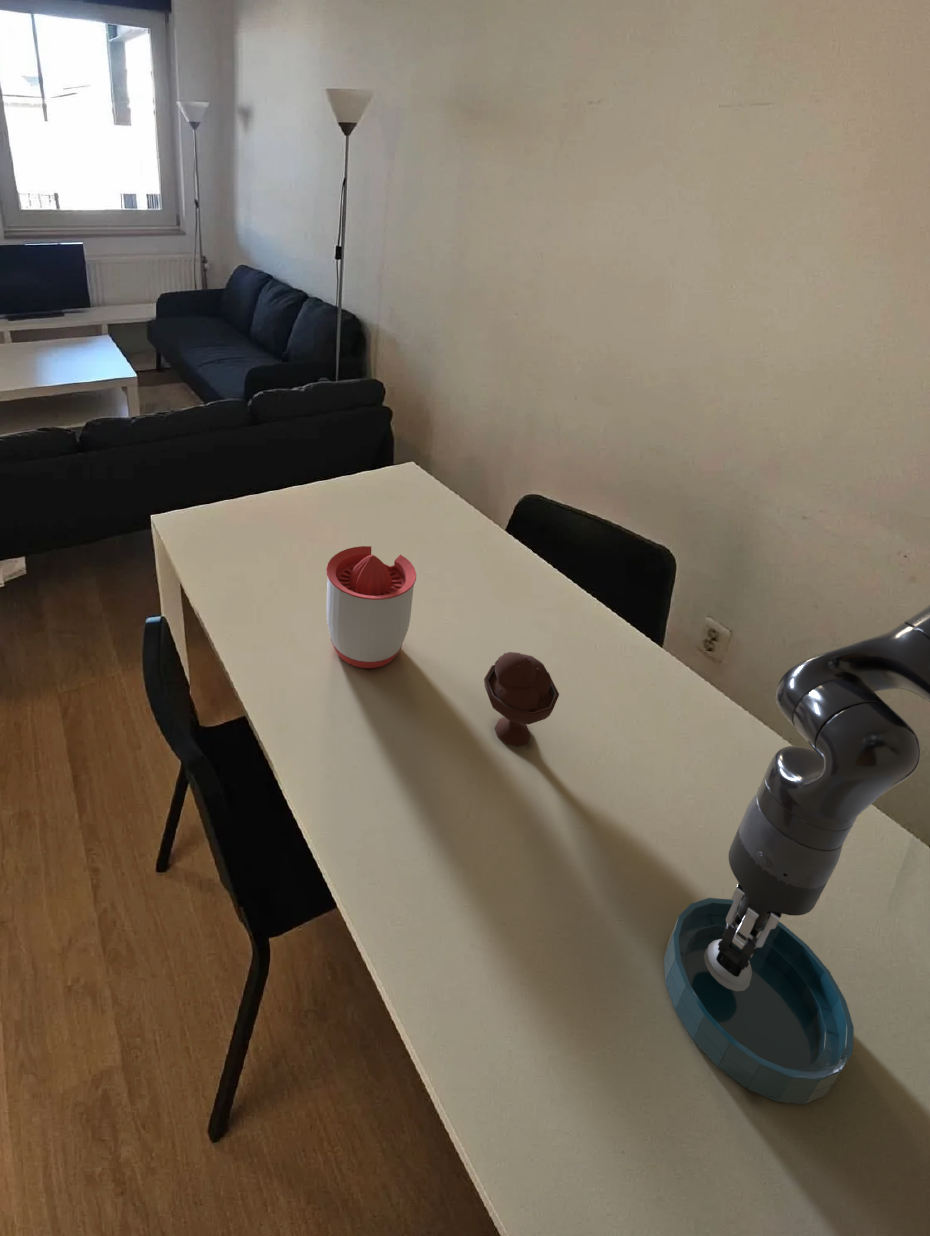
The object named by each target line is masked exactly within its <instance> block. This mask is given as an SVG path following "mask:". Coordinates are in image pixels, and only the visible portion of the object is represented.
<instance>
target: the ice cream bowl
mask: <svg viewBox="0 0 930 1236" xmlns="http://www.w3.org/2000/svg"><path fill="white" fill-rule="evenodd" d="M483 681H484V688H485V691H486V694H487V696H488V699H489V702H490V705H491V707H492V709H494V710H495V711H496V712H497V713H499V714H500V715H501V716H502V718H501V717H500V718H499V719H498V720H497V722H496V724H495V725H494V731H495V734H496V737H497V738H498V739H499V740H501V741H502V742H503V743H504V744H505V745H508V746H513V747H521V746H524V745H527V744H528V743H529V742H530V741H529V740H530V738H531V733H530V730H529V727H528V726H527V725H531V724H535V723H539V722H541V721H544V720H546V719H547V718H549V717H550V716H551V714H552V713H553V711H554V708H555V706H556V703H557V701H558V698H559V696H560V693H559V690H558V688H557V686H556V685H555V683H554V681H553V679H552V677H551V674H550V672H549V671H548V670H547V668H546V666H545V665H544V663H542V661H540V660H539V659H537V658H536V657H534V656H533V655H530V654H524V653H521V652H514V651H513V652H512V651H508V652H504V653H503V654H502V655H500V656H498V658H497V660H496V661H495V662H494V664H493V665H491V666H490V667H489V670H488V671H487V673H486V675H485V677H484V679H483Z"/></svg>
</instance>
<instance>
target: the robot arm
mask: <svg viewBox="0 0 930 1236" xmlns="http://www.w3.org/2000/svg"><path fill="white" fill-rule="evenodd" d="M900 689H901V690H905V691H907V692H910V693H913V694H915V695H917V696H919V697H920V698H922V699H924V700H925V701H927V702H928V703H930V604H928V605H927V606H925V607H924V608H923V609H921V610H919V611H918V612H917V613H915V614H913V615H912V616H910V617H909V618H907V619H906V620H904V621H903V622H901V623H899V625H897V626H895V627H894V628H892V629H891V630H888V631H886V632H884V633H883V632H882V633H881V634H878V635H875V636H871V637H868V638H865V639H862V640H859V641H856V642H853V643H851V644H848V645H845V646H842V647H837V648H835V649H831V650H828V651H825V652H822V653H819V654H815V655H813V656H810V657H808V658H805V659H803V660H801V661H799V662H797V663H795V664H794V665H793V666H791V667H790V668H789V669H787V671H786V672H785V673H784V674H783V675H782V677H781V678H780V680H779V682H778V684H777V686H776V689H775V702H776V706H777V707H778V710H779V711H780V713H781V714H782V715H783V717H785V719H786V720H787V721H788V722H789V723H790V724H791V726H792V727H793V728H794V729H795V730H796V731H797V732H798V733H799V734H800V736H801V737H803V739H804V740H805V741H806V742H807V743H808V744H809V746H810V747H807V746H802V745H789V746H788V745H787V746H785V747H782V748H781V749H779V750H777V752H776V753H775V754H774V755H773V757H772V758H771V760H770V762H769V764H768V766H767V768H766V770H765V772H764V775H763V777H762V780H761V782H760V785H759V787H758V790H757V791H756V793H755V795H754V796H753V797H752V799H751V800H750V802H749V803H748V805H747V807H746V808H745V811H744V813H743V817H742V818H741V820H740V824H739V826H738V828H737V831H736V833H735V835H734V838H733V840H732V842H731V844H730V847H729V850H728V863H729V867H730V870H731V872H732V874H733V876H734V877H735V879H736V880H737V882H738V884H737V885H736V887H735V890H734V892H733V894H732V896H731V900H733V904H732V906H731V908H730V910H729V912H728V915H727V917H726V923H727V924H728V927H726V926H725V928H724V930H723V931H724V934H723V937H722V940H721V941H719V943H718V945H719V948H718V950H719V953H718V955H717V958H716V960H717V962H718V963H719V965H721V966H722V967H723V968H724V969H726V970H727V971H728V972H729V973H731V974H732V975H734V976H736V977H739V975H740V973H741V971H742V969H743V970H744V968H745V967H746V968H747V967H748V965H749V963H748V961H749V959H750V958H752V956H753V954H754V953H755V951H756V949H754V948H755V947H758V948H761V947H762V946H763V944H764V942H765V940H766V938H767V936H768V934H769V932H770V930H771V929H775V928H776V926H777V924H778V922H780V919H781V918H782V915H786V916H793V917H794V916H804V915H806V914H809V913H810V912H811V911H812V910H813V909H814V908H815V906H816V905H817V903H818V901H819V899H820V897H821V895H822V893H823V891H824V890H825V887H826V886H827V884H828V882H829V880H830V878H831V876H832V874H833V872H834V870H835V869H836V867H837V865H838V863H839V861H840V857H841V853H842V849H843V847H844V843H845V841H846V839H847V837H848V835H849V833H850V832H851V830H852V828H853V826H854V824H855V822H856V820H857V818H858V817H859V816H860V815H861V814H862V813H863V812H864V811H865V810H866V809H867V808H869V806H872V804H873V803H874V802H876V801H877V800H878V799H880V798H881V797H882V796H883V795H885V794H887V792H889V791H890V790H892V789H893V788H895V787H897V786H898V785H900V784H901V783H903V782H905V781H906V780H907V779H908V778H910V777H911V776H912V775H913V774H914V773H915V772H916V771H917V769H918V768H919V765H920V762H921V758H922V748H921V742H920V739H919V736H918V734H917V732H916V730H915V729H914V728H913V727H912V725H911V723H909V722H908V720H906V719H905V718H904V717H903V716H902V715H901V714H899V712H897V711H896V710H895V709H894V708H893V707H892V706H890V704H888V703H887V702H886V701H885V700H884V699H883V698H882V697H881V696H879V695H878V694H877V692H882V691H883V692H884V691H889V690H900ZM739 905H740V906H739ZM738 907H739V908H738ZM737 909H738V914H737ZM763 927H764V928H763ZM762 928H763V930H762V931H761V929H762Z"/></svg>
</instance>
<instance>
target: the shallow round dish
mask: <svg viewBox="0 0 930 1236" xmlns="http://www.w3.org/2000/svg"><path fill="white" fill-rule="evenodd" d="M732 904H733V899H732V898H731V899H730V898H717V897H707V898H704V899H700V900H697V901H694V902H691V903H690V904H689V905H687V906H686V908H685V909H684V910H682V911H681V913H679V914H678V916H677V918H676V921H675V922H674V923H675V924H674V926H673V929H672V931H671V934H670V936H669V938H668V942H667V945H666V948H665V952H664V954H663V971H664V972H663V973H664V982H665V986H666V989H667V991H668V995H669V997H670V1001H671V1003H672V1005H673V1009H674V1011H675V1013H676V1015H677V1017H678V1018H679V1020H680V1021H681V1023H682V1024H683V1026H684V1028H685V1029H686V1031H687V1032H688V1035H689V1036H690V1038H691V1039H692V1040H693V1042H694V1043H695V1044H696V1045H697V1046H698V1047H699V1048H700V1050H702V1052H703V1053H704V1054H705V1055H706V1056H707V1057H708V1058H709V1059H710V1060H711V1062H713V1064H714V1065H715V1066H716V1067H717V1068H719V1069H720V1070H721V1071H723V1072H724V1073H725V1074H726V1075H728V1076H729V1077H731V1078H732V1079H733V1080H734V1081H736V1082H738V1083H739V1084H740V1085H741V1086H743V1087H744V1088H745V1089H747V1090H749V1091H751V1092H753V1093H756V1094H758V1095H760V1096H763V1097H765V1098H767V1099H769V1100H772V1101H774V1102H777V1103H785V1104H797V1105H798V1104H799V1105H806V1104H808V1103H811V1102H813V1101H816V1100H818V1099H820V1098H822V1097H825V1096H826V1095H827V1094H828V1093H829V1091H830V1089H831V1088H832V1086H833V1085H834V1083H835V1081H836V1080H837V1079H838V1077H839V1075H840V1074H841V1073H842V1071H843V1069H844V1068H845V1066H846V1065H847V1063H848V1062H849V1060H850V1059H851V1057H852V1056H853V1053H854V1035H855V1034H854V1033H855V1026H854V1023H853V1021H852V1017H851V1013H850V1011H849V1007H848V1004H847V1000H846V997H845V996H844V994H843V993H842V991H841V989H840V987H839V985H838V984H837V982H836V980H835V978H834V977H833V975H832V973H831V971H830V970H829V969H828V968H827V966H826V965H825V964H824V963H823V962H822V960H821V959H820V958H819V957H818V955H817V954H816V953H815V952H814V951H813V949H811V947H810V946H809V945H808V944H807V943H806V942H804V940H802V939H801V938H800V937H799V936H798V935H796V934H795V933H794V932H793V931H792V930H791V929H790V928H788V927H787V926H786V925H785V924H784V923H782V922H781V921H779V922H778V924H777V926H776V928H775V929H771V930H770V932H769V934H768V936H767V938H766V940H765V942H764V944H763V946H762V947H761V948H758V947H757V948H755V949H756V951H755V953H754V954H753V956H752V958H750V959H749V961H750V965H751V969H752V977H751V981H750V984H749V986H748V987H747V988H746V989H745V990H743V991H734V990H731V989H728V988H726V987H724V986H723V985H721V984H720V983H718V981H717V980H716V979H715V978H714V977H713V976H712V975H711V973H710V972H709V970H708V968H707V966H706V964H705V959H704V954H705V950H706V949H707V948H708V945H709V944H710V943H712V942H713V941H714V940H719V939H722V937H723V934H724V931H723V930H724V928H725V926H726V927H727V923H726V917H727V915H728V912H729V910H730V908H731V906H732ZM739 906H740V905H739ZM738 908H739V907H738ZM737 912H738V909H737ZM763 928H764V927H763ZM763 928H762V929H761V931H762V930H763Z"/></svg>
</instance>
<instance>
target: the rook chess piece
mask: <svg viewBox="0 0 930 1236" xmlns="http://www.w3.org/2000/svg"><path fill="white" fill-rule="evenodd" d="M737 914H738V912H737ZM727 927H728V924H727ZM721 940H722V939H719V940H714V941H713V942H712V943H710V944H709V945H708V948H707V949H706V950H705V954H704V959H705V964H706V966H707V968H708V970H709V972H710V973H711V975H712V976H713V977H714V978H715V979H716V980H717V981H718V983H720V984H721V985H723V986H724V987H726V988H728V989H731V990H734V991H743V990H745V989H746V988H747V987H748V986H749V984H750V981H751V977H752V969H751V965H750V961H748V963H749V965H748V967H747V968H746V967H745V968H744V970H743V969H742V971H741V973H740V975H739V977H736V976H734V975H732V974H731V973H729V972H728V971H727V970H726V969H724V968H723V967H722V966H721V965H719V963H718V962H717V960H716V958H717V955H718V953H719V950H718V948H719V945H718V943H719V941H721ZM755 948H757V947H755ZM755 948H754V949H755Z"/></svg>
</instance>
